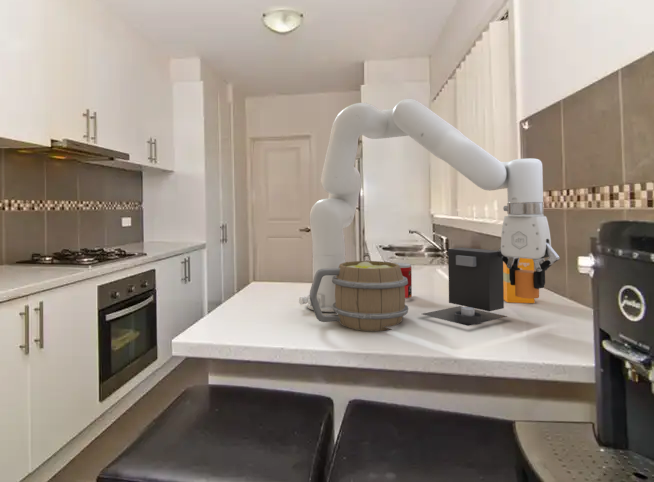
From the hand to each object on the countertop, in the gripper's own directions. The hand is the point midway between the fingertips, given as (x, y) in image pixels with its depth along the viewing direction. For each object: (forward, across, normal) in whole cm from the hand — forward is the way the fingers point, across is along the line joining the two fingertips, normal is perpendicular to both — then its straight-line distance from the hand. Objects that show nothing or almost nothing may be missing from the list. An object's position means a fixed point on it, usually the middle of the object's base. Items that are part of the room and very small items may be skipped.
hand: (526, 285), depth 108 cm
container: (+3, 0, 0) cm, 3 cm away
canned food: (+10, -40, -1) cm, 41 cm away
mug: (+10, -25, -31) cm, 41 cm away
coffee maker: (+7, -13, -2) cm, 15 cm away
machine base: (+10, -13, -6) cm, 18 cm away
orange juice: (+10, -19, +28) cm, 35 cm away
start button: (+7, -9, -11) cm, 16 cm away
